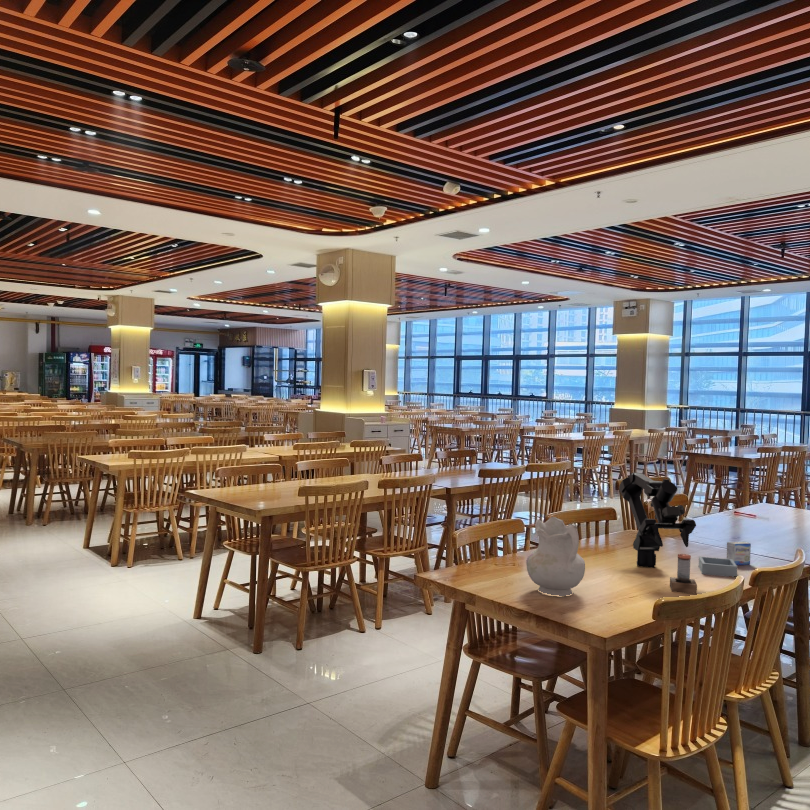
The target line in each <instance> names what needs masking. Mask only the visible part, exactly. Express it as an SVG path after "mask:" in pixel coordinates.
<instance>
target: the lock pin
mask: <svg viewBox="0 0 810 810" xmlns="http://www.w3.org/2000/svg"><path fill="white" fill-rule="evenodd" d="M691 559H692V557H691V555H690V554H687V553H678V554H677V573H676V575H677V577H676V578H677V582H679V583H689V584H690V579H691V576H690V575H691Z"/></svg>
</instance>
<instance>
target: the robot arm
mask: <svg viewBox="0 0 810 810" xmlns="http://www.w3.org/2000/svg"><path fill="white" fill-rule="evenodd" d="M618 491H619V493H620V494H621V496H622V498H623V499H624V500H625V501H627V502H628V504H629V507H630V510H631V513H632V515H633V518H634V522H635V525H636V527H637V533H636V536H635V539H634V540H633V543H632V548H633V550H635V551H636V552H637V555H636V557H637V559H636V567H638V568H639V567H640V568H641V567H643V568H651V569H655V567H656V565H657V554H656V553H655V552H659V551H660V549H661V547H663V546H664V544H663V543H664V542H663V540H662V537H661V534H660V532H659V529H664V530H678V531H679V532H680V538H681V539H682V542H683V544H684V546H685V548H688V547H689V536H690V534H692V533H693V531H694V530H695V528H696V527H697V523H696V521H695V520H694V519H688V518H686V519H684V518H683V519H682V521H680V523H679V522H677V521H678V520H679V517H681V516H683V515H684V514H686V512H685V511H686V510H685V507H684V505H683V504H682V505H681V504H680V505H678V504H677V506H676V505H675V506H672V505H671V506H670V502H672V500H673V499H674V497H675V495H676V494H677V492H678V487H677V485H676V484H675V483H673V482H672V481H670V479H665V478H664V479H663V480H662V481H661V480H653V479H651V478H650V477H648V476H647V475H645V474H644V473H642V472H632V473H630V474H629V475H628V476H627V477H625V478H623V479H621V482H620V483H619V488H618ZM642 493H644V494H645V495H646V496H647V497H652V499H651V503H650V507H653V511H654V518H648V516H647V512H646V511H645V508H644V504H643V502H642V498H641V495H642Z"/></svg>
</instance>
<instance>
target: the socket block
mask: <svg viewBox="0 0 810 810" xmlns="http://www.w3.org/2000/svg"><path fill="white" fill-rule="evenodd" d="M669 588H670V590H671V592H672V593H679V594H681V593H682V594H691V595H698V584H697V582H696V580H695V579H694V578H690V584H689V583H679V582H677V577H672V576H670V577H669Z"/></svg>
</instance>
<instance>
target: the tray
mask: <svg viewBox="0 0 810 810" xmlns="http://www.w3.org/2000/svg"><path fill="white" fill-rule="evenodd" d="M697 565H698V569H699V571H700V572H701V574H702V575H709V576H718V577H720V576H721V577H729V576H732V578H735V577H734V576H737V577H738V565H736V564H735V563H734V561H733V560H732V559H727V558H721V557H711V556H700V555H699V556H698V564H697Z"/></svg>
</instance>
